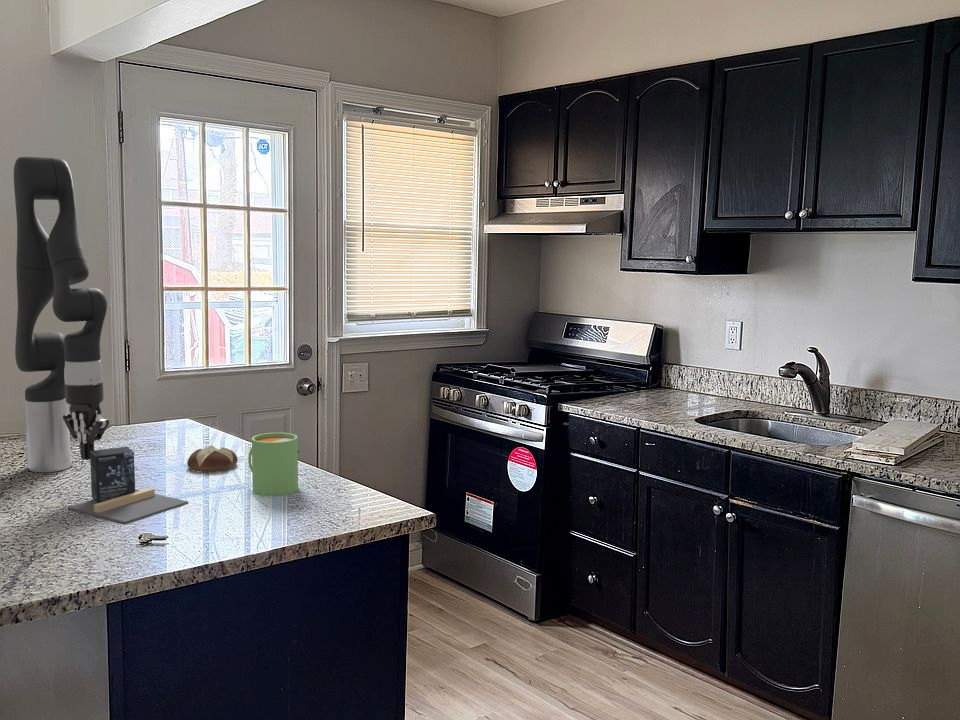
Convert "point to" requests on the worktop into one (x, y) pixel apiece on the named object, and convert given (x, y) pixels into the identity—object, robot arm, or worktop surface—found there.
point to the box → (112, 473)
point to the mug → (274, 463)
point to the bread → (211, 459)
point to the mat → (129, 506)
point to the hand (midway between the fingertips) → (87, 458)
